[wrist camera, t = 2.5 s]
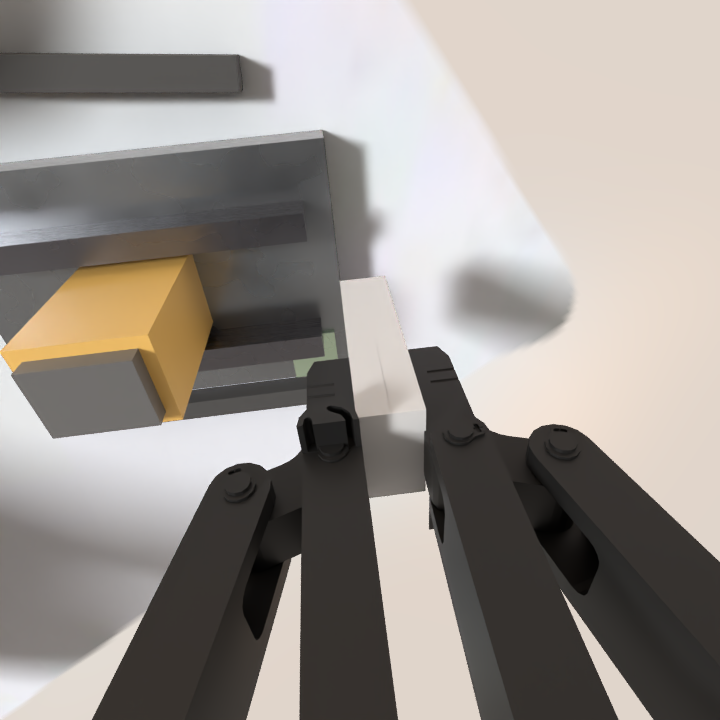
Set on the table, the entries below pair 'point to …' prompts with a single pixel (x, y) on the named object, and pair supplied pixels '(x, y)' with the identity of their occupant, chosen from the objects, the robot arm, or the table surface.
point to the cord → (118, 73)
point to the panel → (190, 241)
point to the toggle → (114, 347)
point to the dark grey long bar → (246, 397)
